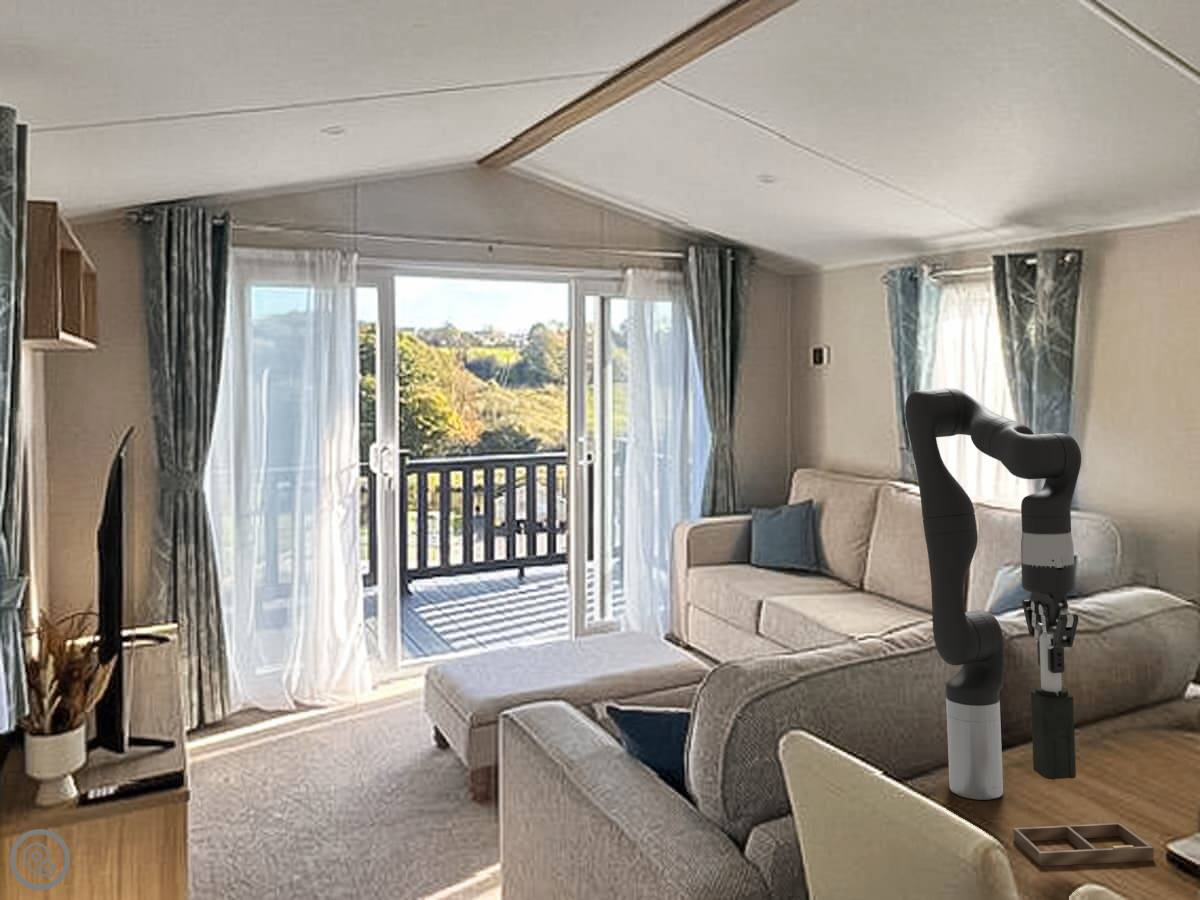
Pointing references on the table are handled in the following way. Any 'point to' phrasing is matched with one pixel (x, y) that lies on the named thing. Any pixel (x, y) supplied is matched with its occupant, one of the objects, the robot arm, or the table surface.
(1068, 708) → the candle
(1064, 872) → the table surface
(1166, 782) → the table surface
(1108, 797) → the table surface
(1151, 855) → the divided wooden tray
